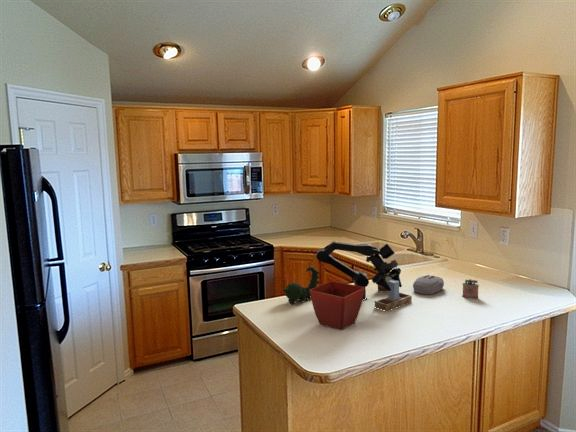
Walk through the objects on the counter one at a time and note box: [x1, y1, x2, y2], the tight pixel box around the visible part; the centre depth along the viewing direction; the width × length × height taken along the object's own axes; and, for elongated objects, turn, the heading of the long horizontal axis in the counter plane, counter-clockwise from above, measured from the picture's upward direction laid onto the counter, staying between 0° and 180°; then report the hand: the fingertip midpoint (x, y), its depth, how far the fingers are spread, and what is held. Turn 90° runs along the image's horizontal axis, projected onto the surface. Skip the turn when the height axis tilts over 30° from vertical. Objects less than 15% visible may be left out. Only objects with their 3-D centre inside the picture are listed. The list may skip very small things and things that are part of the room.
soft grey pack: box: [412, 274, 445, 295], centre depth 241 cm, size 15×8×20 cm
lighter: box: [461, 278, 480, 300], centre depth 228 cm, size 8×3×10 cm, turn 62°
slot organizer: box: [374, 291, 413, 312], centre depth 219 cm, size 21×8×4 cm, turn 130°
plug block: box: [387, 280, 400, 301], centre depth 218 cm, size 4×4×12 cm
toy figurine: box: [282, 266, 320, 304], centre depth 228 cm, size 9×19×25 cm
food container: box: [376, 274, 392, 291], centre depth 243 cm, size 12×6×10 cm, turn 84°
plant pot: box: [310, 280, 366, 330], centre depth 196 cm, size 19×19×17 cm
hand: (395, 288), depth 217 cm, fingers open, 9 cm apart
